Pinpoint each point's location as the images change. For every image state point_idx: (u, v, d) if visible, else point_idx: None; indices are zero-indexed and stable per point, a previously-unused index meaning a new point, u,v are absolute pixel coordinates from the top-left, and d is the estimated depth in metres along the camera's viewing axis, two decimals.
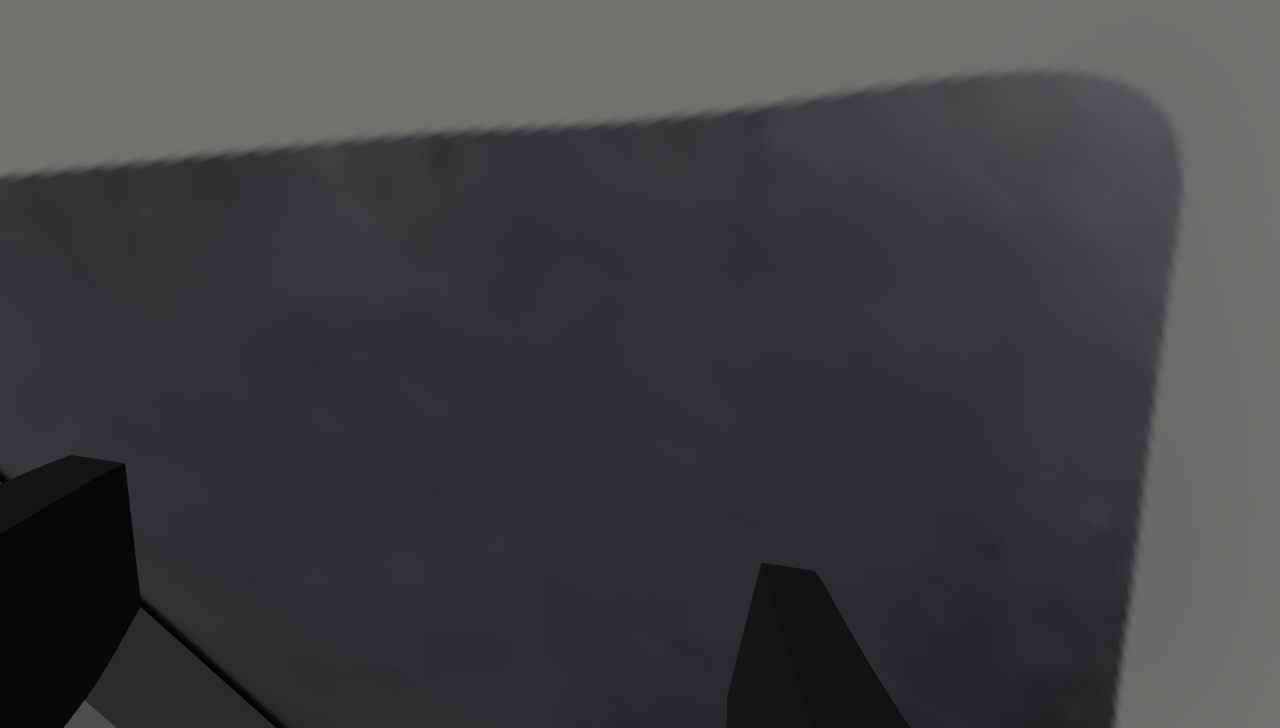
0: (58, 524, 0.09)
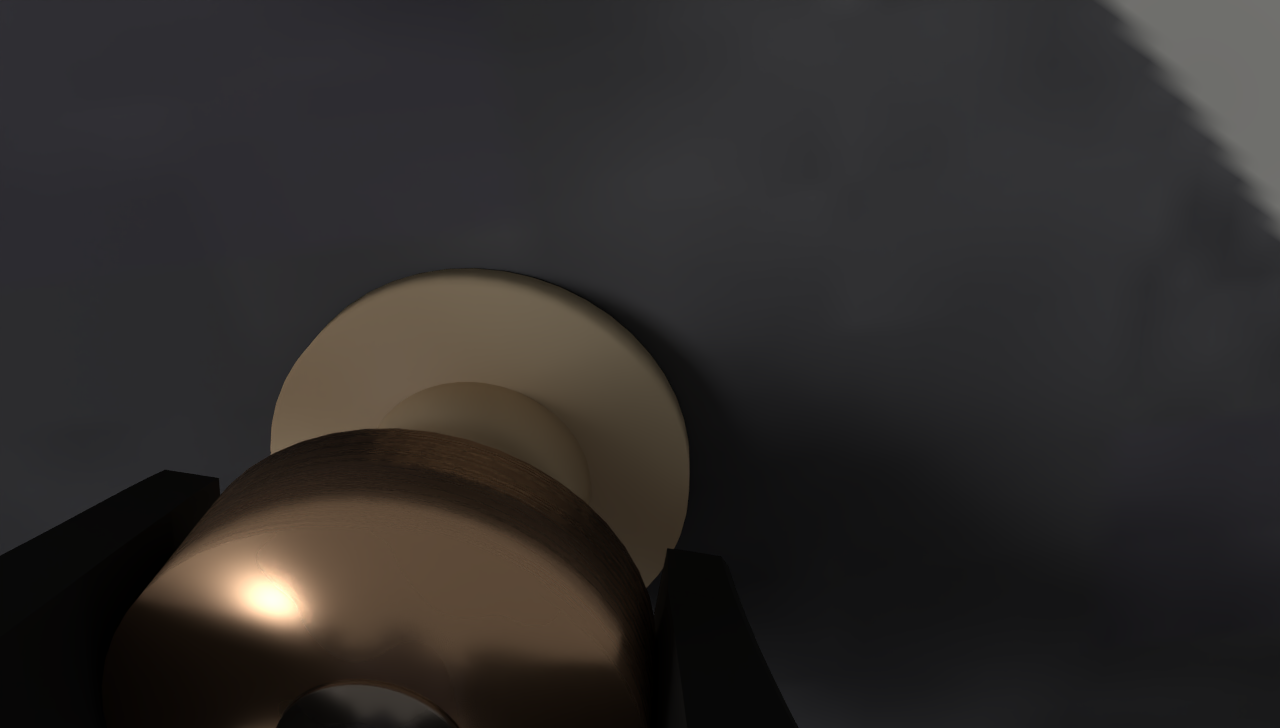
0: (164, 540, 0.09)
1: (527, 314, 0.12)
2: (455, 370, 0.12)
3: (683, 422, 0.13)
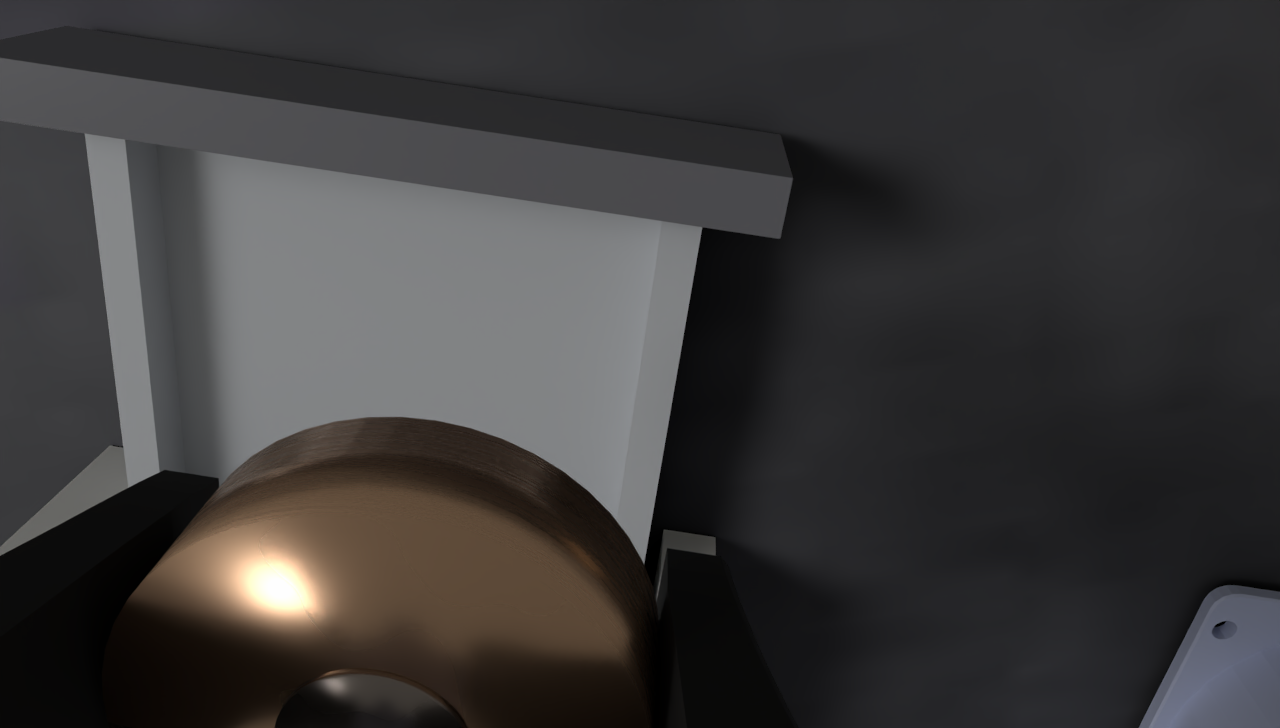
0: (164, 540, 0.09)
1: None
2: None
3: None
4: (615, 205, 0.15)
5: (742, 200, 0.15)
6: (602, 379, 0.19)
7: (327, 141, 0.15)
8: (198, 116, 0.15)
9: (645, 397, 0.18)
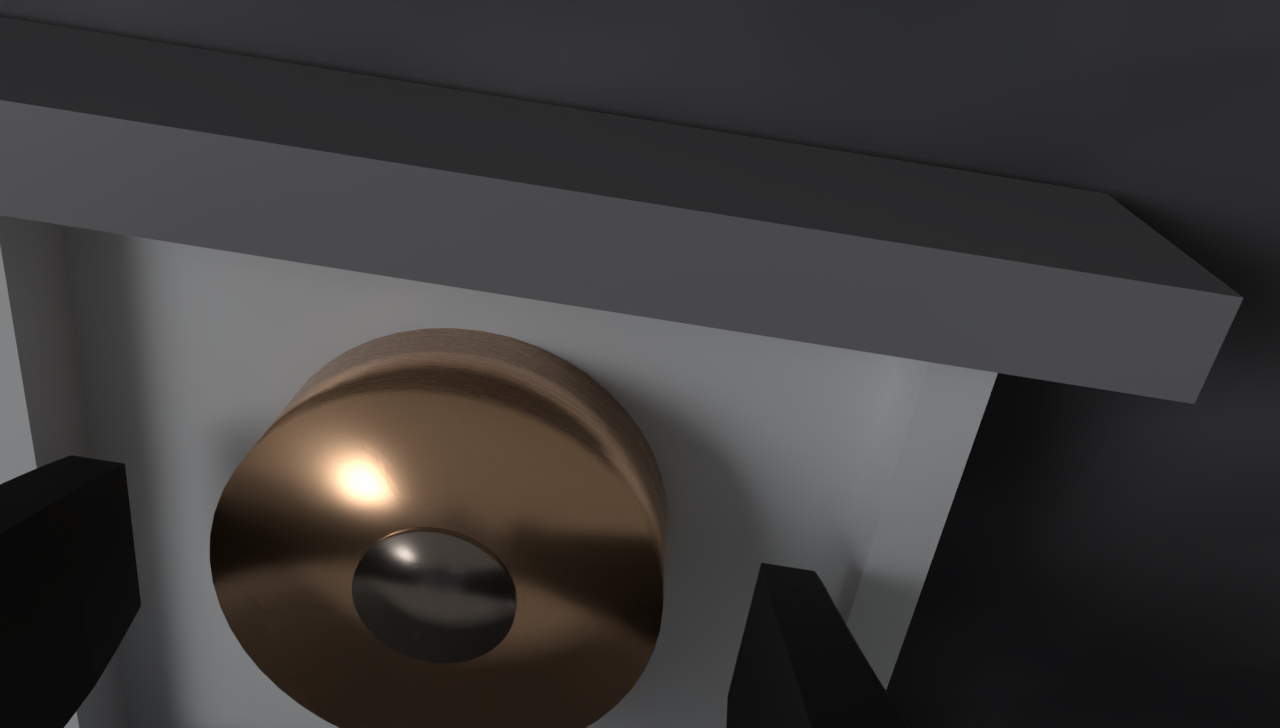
0: (59, 524, 0.09)
1: None
2: None
3: None
4: (891, 340, 0.08)
5: (1136, 335, 0.08)
6: None
7: (354, 219, 0.08)
8: (108, 170, 0.08)
9: (864, 619, 0.11)
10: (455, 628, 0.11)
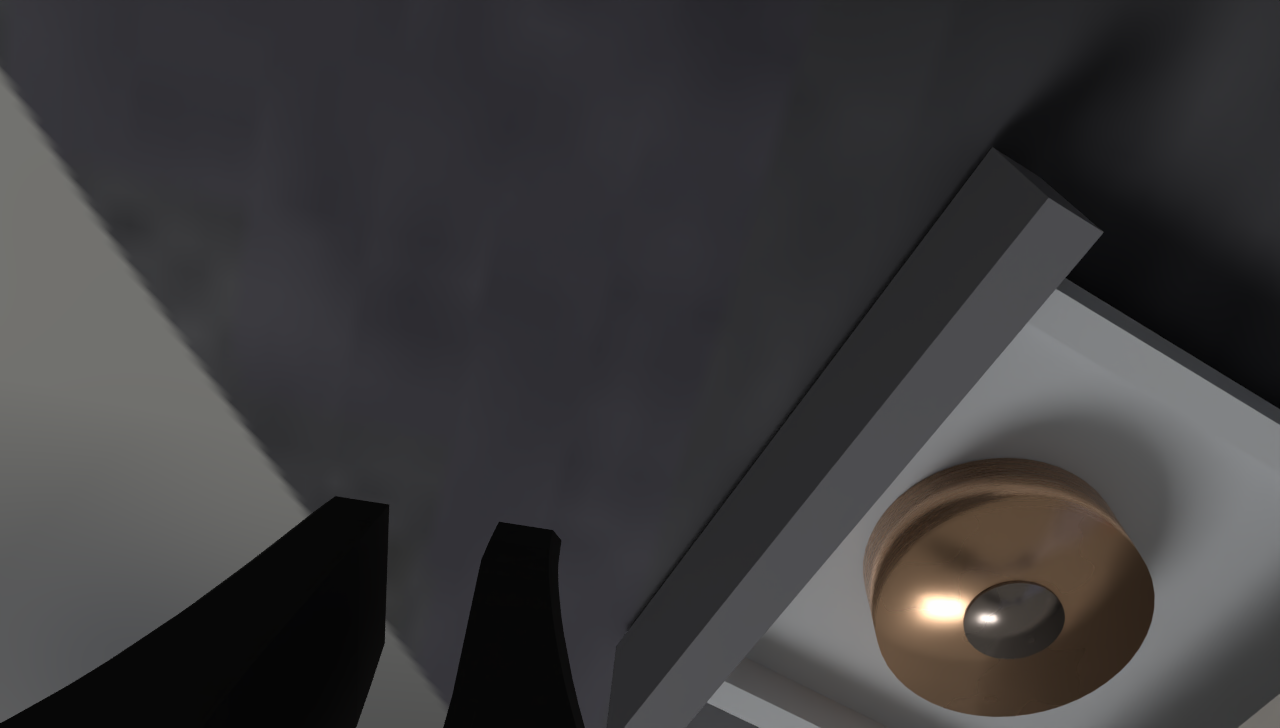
0: (353, 570, 0.09)
1: None
2: None
3: None
4: (976, 369, 0.15)
5: (1041, 254, 0.14)
6: (1137, 420, 0.18)
7: (792, 563, 0.17)
8: (725, 637, 0.18)
9: (1185, 403, 0.16)
10: (1038, 620, 0.18)
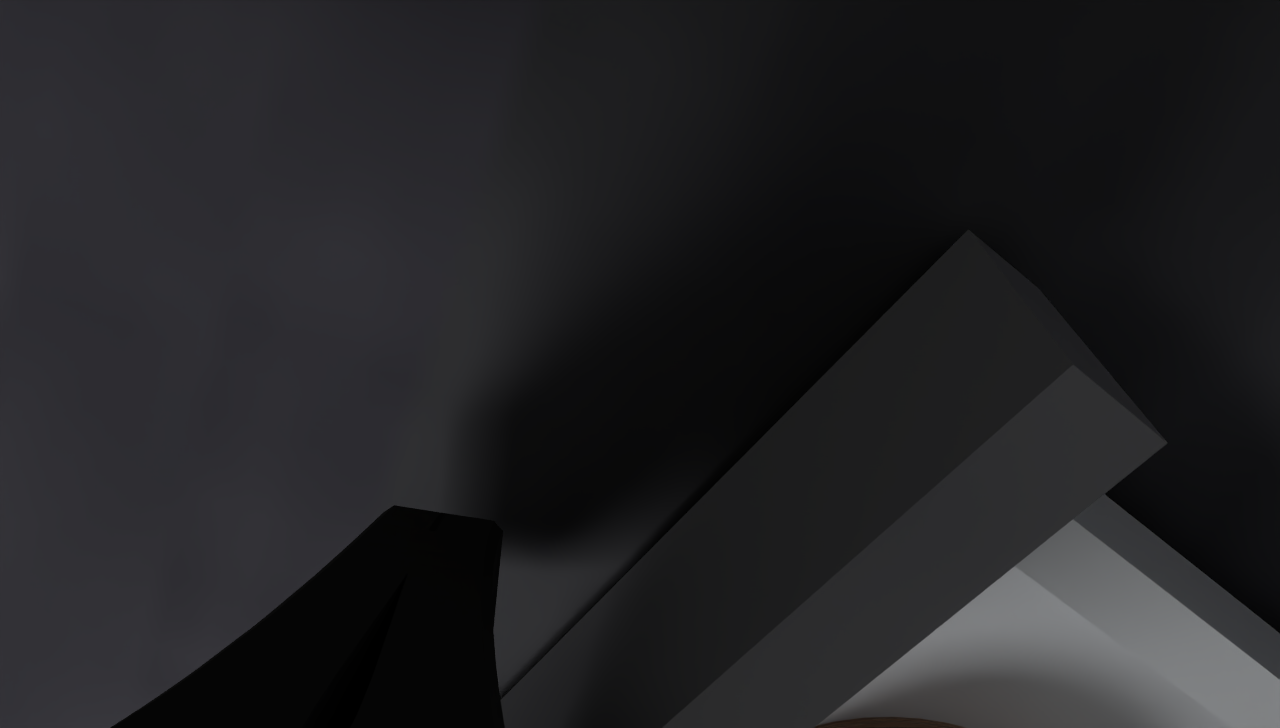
0: None
1: None
2: None
3: None
4: (890, 647, 0.08)
5: (1041, 466, 0.07)
6: (1137, 693, 0.11)
7: None
8: None
9: (1230, 704, 0.10)
10: None
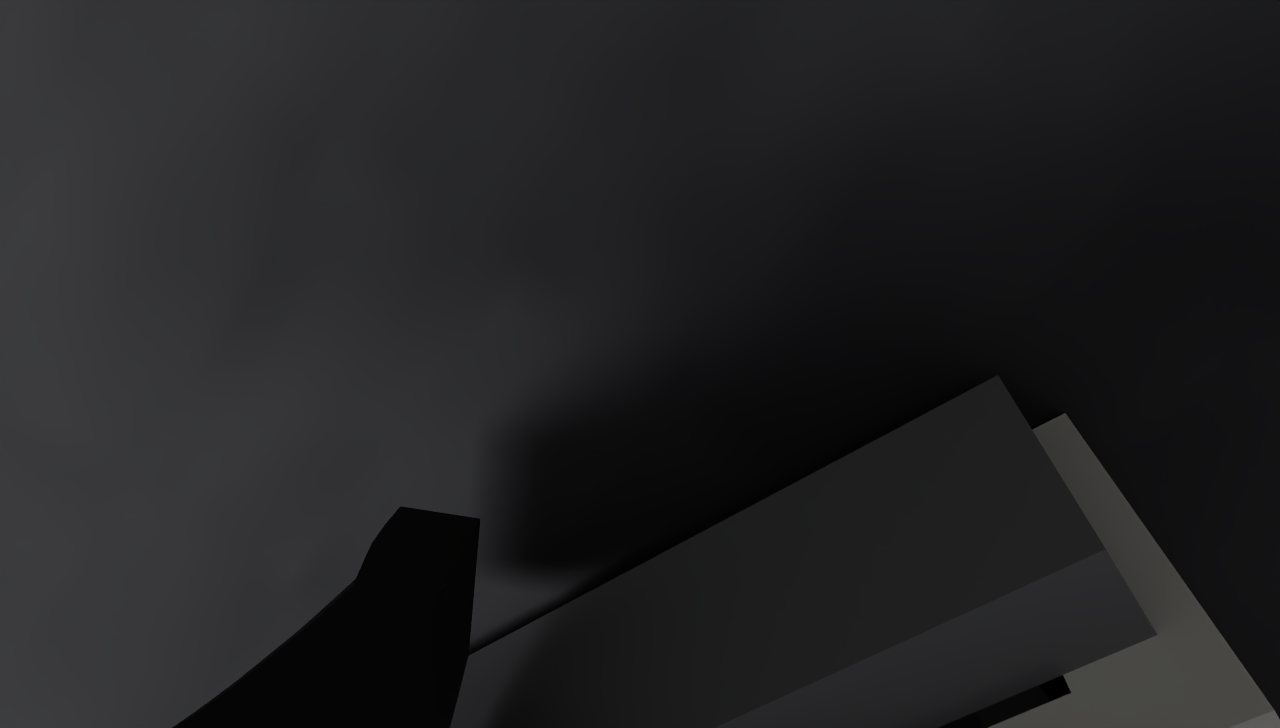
0: (454, 586, 0.09)
1: None
2: None
3: None
4: None
5: (1045, 627, 0.08)
6: None
7: None
8: None
9: None
10: None
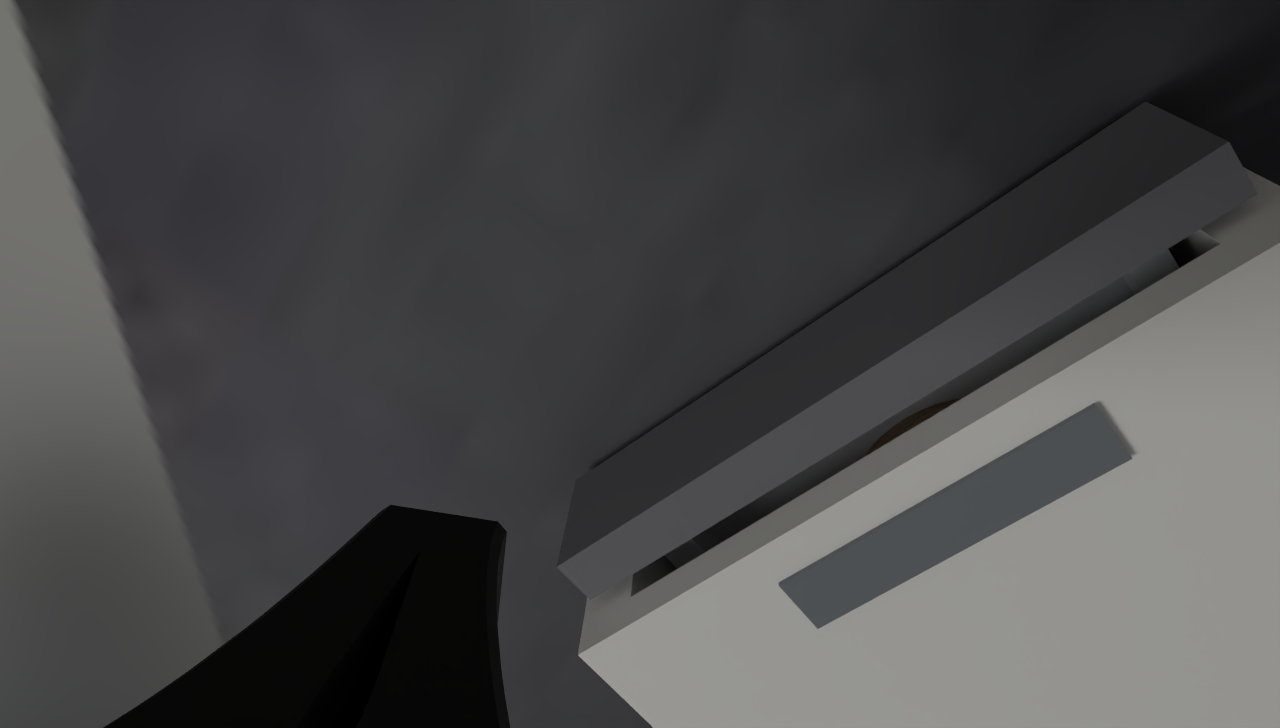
0: None
1: None
2: None
3: None
4: (1088, 288, 0.15)
5: (1196, 194, 0.15)
6: None
7: (831, 425, 0.17)
8: (733, 481, 0.17)
9: None
10: None
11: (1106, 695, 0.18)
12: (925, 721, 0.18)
